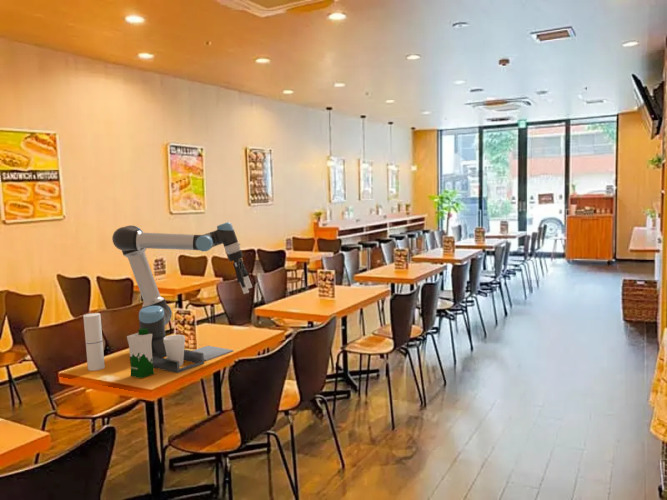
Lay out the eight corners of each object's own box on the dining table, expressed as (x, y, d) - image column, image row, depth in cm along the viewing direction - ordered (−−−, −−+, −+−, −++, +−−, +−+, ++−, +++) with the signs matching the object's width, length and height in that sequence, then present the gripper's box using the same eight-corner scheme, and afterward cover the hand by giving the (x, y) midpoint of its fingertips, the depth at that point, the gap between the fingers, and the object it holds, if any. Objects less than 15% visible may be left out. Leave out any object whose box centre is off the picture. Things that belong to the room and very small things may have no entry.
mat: (180, 355, 277) (180, 354, 277) (207, 346, 292) (207, 345, 292) (206, 360, 267) (205, 359, 267) (233, 351, 282) (233, 350, 282)
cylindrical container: (94, 371, 258) (90, 317, 255) (84, 369, 261) (79, 315, 259) (108, 366, 264) (103, 313, 261) (97, 365, 267) (93, 312, 265)
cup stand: (147, 366, 262) (147, 355, 262) (174, 357, 275) (173, 347, 274) (177, 373, 251) (176, 361, 250) (204, 363, 263) (203, 352, 263)
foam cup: (164, 363, 265) (162, 336, 264) (184, 360, 269) (182, 333, 268) (167, 369, 257) (165, 341, 255) (188, 366, 260) (186, 338, 259)
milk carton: (157, 373, 251) (154, 329, 249) (140, 379, 244) (136, 333, 242) (144, 370, 256) (141, 327, 254) (127, 376, 248) (123, 331, 246)
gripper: (237, 252, 280) (252, 292, 282) (244, 246, 304) (257, 283, 307) (222, 257, 280) (237, 297, 282) (230, 251, 304) (244, 288, 307)
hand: (248, 290), depth 295 cm, fingers open, 13 cm apart
